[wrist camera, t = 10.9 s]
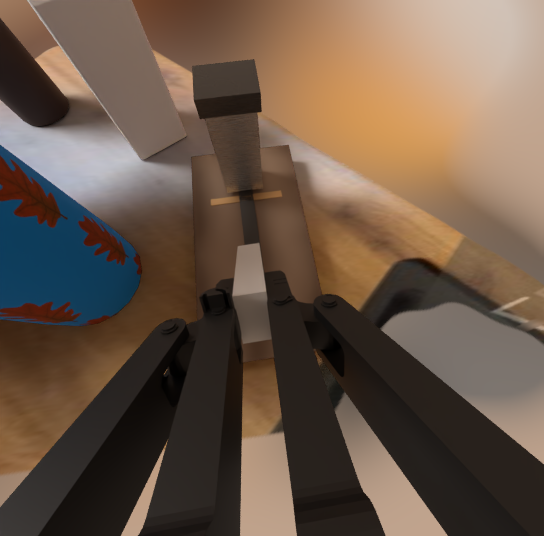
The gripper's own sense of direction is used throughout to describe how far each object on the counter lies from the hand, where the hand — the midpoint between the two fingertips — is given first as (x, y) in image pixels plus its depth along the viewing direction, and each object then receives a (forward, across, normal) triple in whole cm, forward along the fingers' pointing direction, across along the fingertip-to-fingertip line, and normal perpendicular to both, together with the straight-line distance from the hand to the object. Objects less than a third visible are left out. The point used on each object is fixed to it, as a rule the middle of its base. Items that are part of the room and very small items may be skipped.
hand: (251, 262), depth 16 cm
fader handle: (+13, 0, +5) cm, 14 cm away
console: (+10, 0, -3) cm, 11 cm away
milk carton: (+24, -12, +11) cm, 29 cm away
